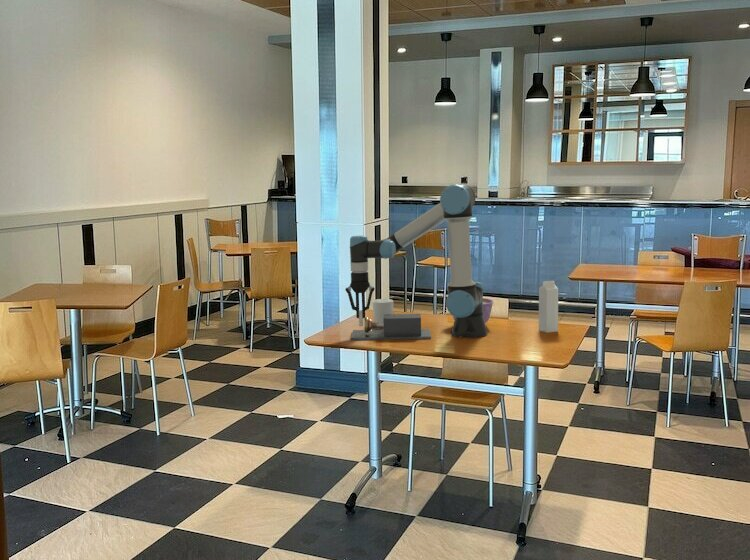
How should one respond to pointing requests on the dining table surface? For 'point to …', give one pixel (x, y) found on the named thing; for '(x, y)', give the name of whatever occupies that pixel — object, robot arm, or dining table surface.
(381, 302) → the candle holder
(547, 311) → the milk
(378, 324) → the shaft
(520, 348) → the dining table surface
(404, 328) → the bearing block
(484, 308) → the bowl of food
